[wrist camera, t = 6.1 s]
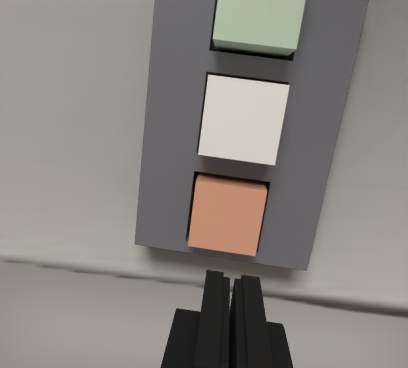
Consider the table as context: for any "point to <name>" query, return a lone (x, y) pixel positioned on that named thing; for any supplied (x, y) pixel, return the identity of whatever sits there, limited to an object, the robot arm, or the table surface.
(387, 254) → the table surface
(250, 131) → the cream key
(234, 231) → the terracotta key
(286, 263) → the keypad
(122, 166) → the table surface
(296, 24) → the sage key
